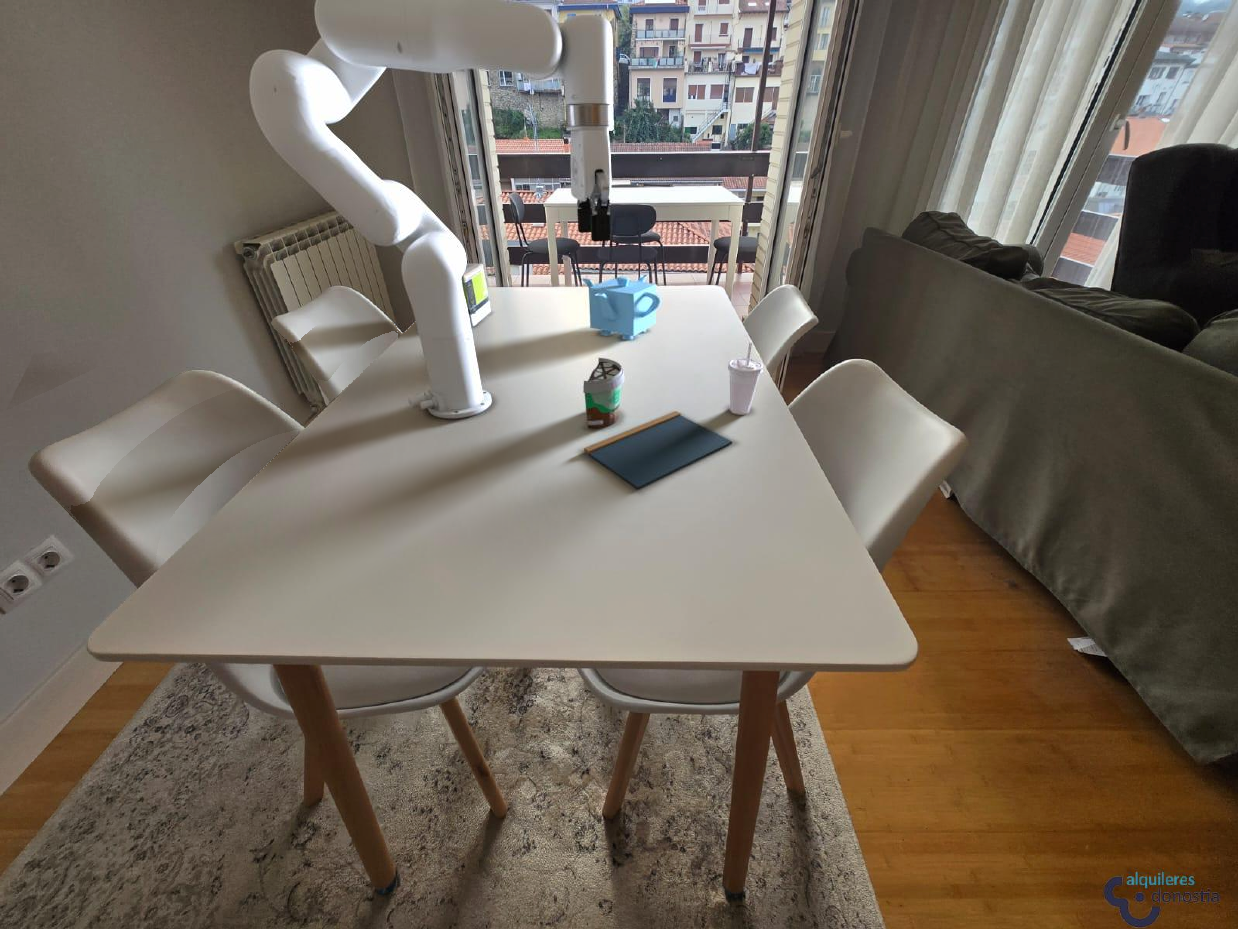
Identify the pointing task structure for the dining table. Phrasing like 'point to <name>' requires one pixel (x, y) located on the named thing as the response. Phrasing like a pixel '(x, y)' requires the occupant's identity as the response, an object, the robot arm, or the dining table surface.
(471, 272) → the tea box
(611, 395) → the food container
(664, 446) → the dark blue notebook
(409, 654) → the dining table surface
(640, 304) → the teakettle
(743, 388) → the smoothie
